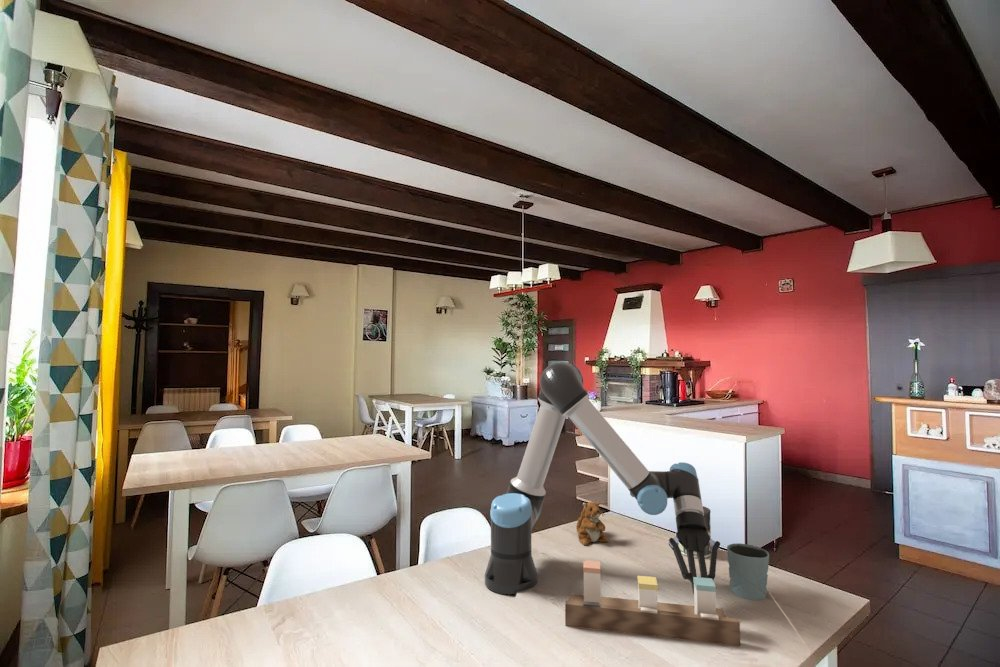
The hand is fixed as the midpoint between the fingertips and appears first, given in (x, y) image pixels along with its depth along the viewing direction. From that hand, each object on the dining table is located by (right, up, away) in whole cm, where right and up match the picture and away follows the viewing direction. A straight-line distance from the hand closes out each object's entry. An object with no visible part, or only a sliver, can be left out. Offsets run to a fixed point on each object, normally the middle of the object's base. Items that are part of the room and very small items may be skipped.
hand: (703, 609), depth 116 cm
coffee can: (+15, -6, +43) cm, 46 cm away
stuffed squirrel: (-17, -7, +56) cm, 59 cm away
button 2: (-1, -2, -3) cm, 4 cm away
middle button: (-14, -2, -2) cm, 15 cm away
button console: (-13, -4, +1) cm, 14 cm away
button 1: (-26, -3, +6) cm, 26 cm away
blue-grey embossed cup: (+18, -4, +14) cm, 23 cm away
